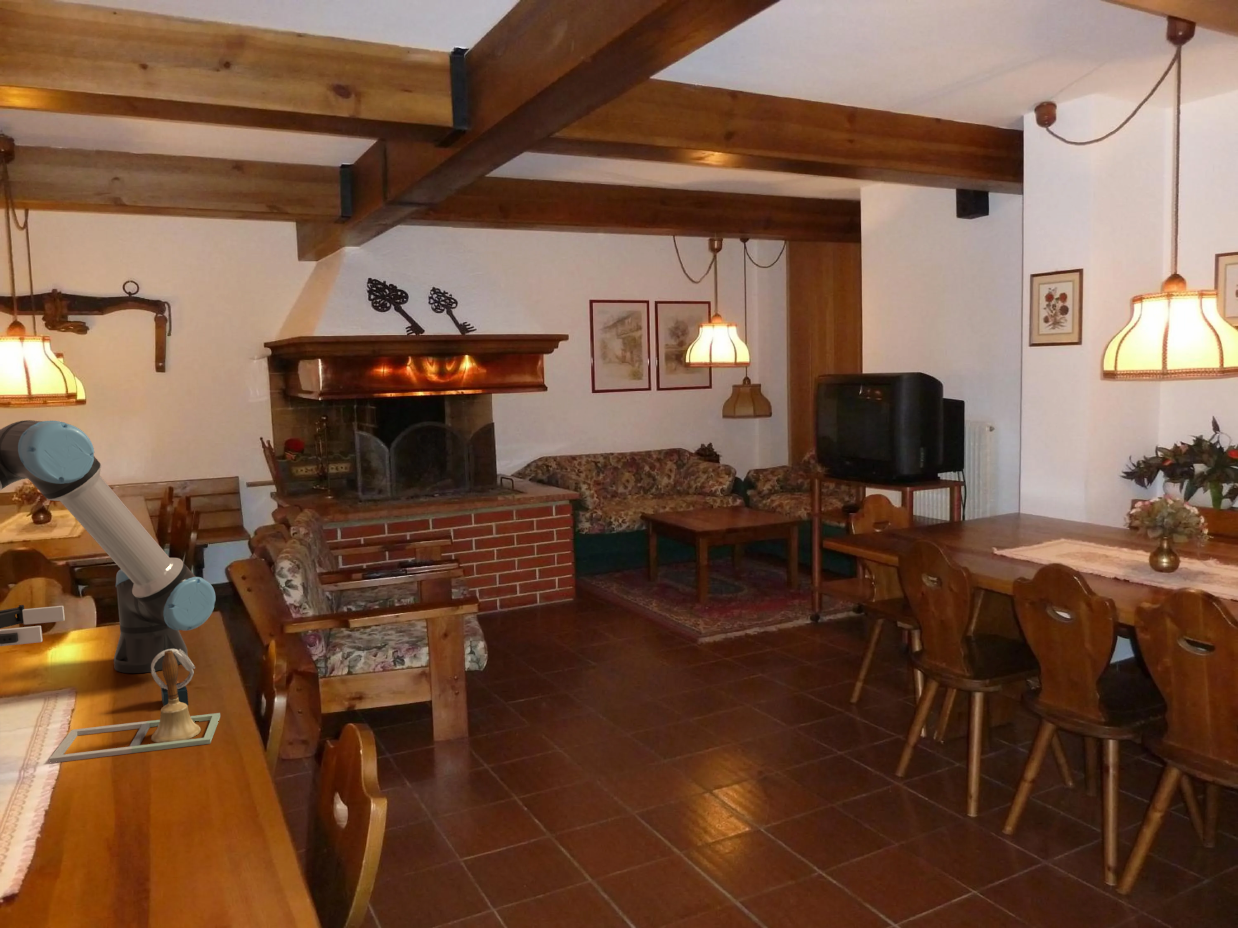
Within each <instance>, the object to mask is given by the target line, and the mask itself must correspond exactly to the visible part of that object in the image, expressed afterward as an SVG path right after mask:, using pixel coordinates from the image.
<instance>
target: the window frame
mask: <svg viewBox="0 0 1238 928" xmlns="http://www.w3.org/2000/svg"><path fill="white" fill-rule="evenodd" d="M190 717H191V719H192V721H193V722H194V723H196V722H195V721H199V722H207V721H209V723H208V726H207V729H206V731H205V734H204V736H203V737H198V738H191V739H188V740H180V741H172V742H164V743H156V742H154V743H150V744H149V743H148V744H142V741H143V740H144V738H145V737H146V735H147V733H148V732H149V729H150V728H153V727H158V726H159V723H160V719H156V720H147V721H138V722H127V723H121V724H120V723H118V724H109V725H102V726H95V727H86V728H85V727H84V728H83V727H82V728H75V729H71V730H70V731H69V733H68V734H67V735H66V736H65V737H64V739H63V740H62V742H61V743H60V744H59V746H58V747H57V748H56V750H55V751H54V752H53V753H52V755H51V756H50V757H49V763H50V762H56V761H57V762H56V763H63V762H71V761H79V760H87V759H94V758H97V759H98V758H104V757H112V756H119V755H127V754H135V753H136V754H137V753H143V752H144V753H145V752H152V751H160V750H162V751H163V750H169V749H176V748H184V747H194V746H202V745H203V746H204V745H211V743H212V739H213V737H214V734H215V733H216V730H217V726H218V724H219V722H220V719H221V712H216V713H215V712H214V713H208V714H207V713H206V714H199V715H198V714H197V715H190ZM218 721H219V722H218ZM135 729H136V730H138V731H137V733H136V735H135V736H134V737H133V739H132V741H131V743H130V744H129V746H125V747H124V746H123V747H117V748H116V747H115V748H107V749H100V750H92V751H91V750H90V751H89V750H88V751H81V752H74V753H66V752H67V750H68V749H69V748H70V746H71V745H72V744H73V742H74V741H75V739H76V738H77V737H78V736H85V735H93V734H101V733H110V732H119V731H128V730H135Z"/></svg>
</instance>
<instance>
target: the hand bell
mask: <svg viewBox="0 0 1238 928" xmlns="http://www.w3.org/2000/svg"><path fill="white" fill-rule="evenodd" d="M161 671H162V675H163V678H164V680H165V683H166V685H167V689H168V701H169V702H168V704H167V705H165V706H163V707H161V709H160V718H159V720H160V723H159V726H157V728H156V730H155V731H154V732H153V733H152V735H151V737H150V739H151V741H152V742H153V743H164V742H172V741H180V740H189V739H194V737H196V735H197V736H198V735H199V734H200V732H201V730H202V729H201V727H200V725H199V724H197V723H196V722H193V721H192V719H191V717H190V716H191V715H190V712H189V707H188V706H189V705H187V704H185V703H182V702H179V698H178V694H177V693H178V692H177V686H176V684H177V683H178V682H177V681H178V676H179V665H178V664H177V661H176V658H175V656H174V654H173V652H172V651H171V650H168V651H165V654H164V659H163V663H162V670H161Z"/></svg>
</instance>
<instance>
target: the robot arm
mask: <svg viewBox="0 0 1238 928" xmlns="http://www.w3.org/2000/svg"><path fill="white" fill-rule="evenodd" d="M94 449H95V448H94V444H93V443H92V441H91V439H90V438H89V436H88V434H87V433H85V432H84V431H83V430H81V429H80V428H78V427H77V426H75V425H72V424H69V423H67V422H64V421H59V420H31V419H30V420H29V419H28V420H20V421H15V422H12V423H10V424H8V425H6V426H4V427H2V428H0V491H1V490H3V489H4V488H6V487H7V486H10V485H12V484H13V483H15V482H18V481H21V480H26V479H27V480H28V481H30V482H31V483H32V485H34V487H35V488H36V489H37V490H38V491H39V492H40V493H41V494H42V496H43V497H45V499H46V500H48V501H55V502H60V503H61V504H62V505H63V506H64V508H66V509H67V511H68V512H69V514H71V515H72V516H73V518H75V519H76V521H77V522H78V523H79V524H80V525H81V526H82V527H83V529H84V530H85V531H86V532H87V533H88V534H89V535H90V536H91V537H92V538H93V539H94V541H95V542H96V543H97V544H98V545H99V547H101V549H102V550H103V551H104V552H105V553H106V554H107V555H108V556H109V558H111V560H112V561H113V562H114V563H115V564H116V565H117V567H118V568H119V570H118V571H117V572H116V576H115V588H116V597H117V598H116V599H117V608H118V609H117V610H118V618H119V629H120V630H119V632H120V634H119V639H118V641H117V646H116V649H115V653H114V658H113V665H114V671H116V672H119V673H123V674H124V673H125V674H143V673H151V663H152V661H153V659H154V658H155V657H156V656H157V655H158V654H159V653H160V652H162V651H164V650H167V649H177V650H180V649H181V650H182V651H183V652H184V653H185V654H186V655H187V656H188V654H189V653H188V647H187V645H186V643H185V641H184V639H183V637H182V634H181V632H180V631H186V632H187V631H191V630H194V629H197V628H199V627H201V626H202V625H204V624H205V622H207V621H208V619H209V618H210V616H211V615H212V614H213V612H214V608H215V604H216V598H217V597H216V592H215V589H214V587H213V586H212V584H211V583H210V582H209V581H208V580H207V579H205V578H203V577H200V576H196V575H195V574H194V573H193V572H192V571H191V570H190V568H189V567H188V566H187V565H186V564H185V563H184V562H183V560H182V559H181V558H180V557H169V555H168V553H166V551H164V549H163V548H162V547H161V546H160V545H159V543H158V542H157V541H156V540H155V539H154V538H153V536H152V535H151V534H150V533H149V532H148V530H146V528H145V527H144V526H143V525H142V523H141V522H140V521H139V519H137V517H136V516H135V515H134V514H133V512H132V511H130V509H129V508H128V507H127V506H126V505H125V504H124V502H123V501H122V500H121V499H120V498H119V496H118V495H117V494H116V493H115V491H113V489H112V488H111V486H110V485H108V483H107V482H106V481H105V480H104V479H103V477H102V476H101V468H102V464H101V463H100V461H99V460H98V459H97V457H96V456H95V455H94V454H95V450H94ZM64 609H65V608H64V605H57V606H45V607H35V608H34V607H33V608H25V605H24V604H20V605H18V607H13V608H7V609H3V610H2V609H1V610H0V647H6V646H15V645H16V646H17V645H25V644H34V643H36V644H37V643H42V642H43V631H42V626H41V625H35V626H24V627H23V626H22V627H13V626H16V625H22V624H23V625H34V624H44V623H45V624H47V623H55V622H64V621H66V620H65V618H66V617H65V610H64ZM8 627H10V628H8ZM11 627H13V628H11ZM173 654H174V653H173ZM174 656H175V658H176V661H177V664H178V666H179V665H182V664H181V663H180V662H179V660H178V659H177V657H176V655H175V654H174ZM188 657H189V656H188ZM163 659H164V656H162V657H161V658H160V659H158V661H157V662H156V663H155V665H154V669H155V672H157V671H162V663H163ZM153 671H154V670H153Z"/></svg>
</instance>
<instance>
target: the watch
mask: <svg viewBox="0 0 1238 928" xmlns="http://www.w3.org/2000/svg"><path fill="white" fill-rule="evenodd" d="M168 650H171V651H172V652H173V653H174V654H175V655H176V657H177V659H178V660H179V662H180V663H181V664H180V665H181V666H182V667H183V668H184V669H185V670H186V671H187V672H189V674H188V675H187V677H186V678H185V679H184V680H183V681H181V682H176V686H177V692H178V693H177V694H178V698H179V702H182V703H185V704H187V706H189V697H188V696H189V695H188V688H187V685H188V684H189V683H190V682H191V681H192V679H193V676H194V674H195V673H194V669H196V666H195V665H194V663H193V661H192V659H190V657H189V656H187V655H186V654H185V653H184V652H183V651H182V650H181V649H180V650H177V649H167V650H164V651H162V652H160V653H159V654H158V655H157V656H156V657H155V658H154V659H153V661H152V663H151V672H150V673H151V676H152V679H153V680H154V682H155V683H156V684H157V685H158V686H159V688H160V692H161V693H160V694H161V703H162V706H163V707H164V706H165V705H167V704H168V702H169V701H168V689H167V684H165V682H164V681H163V680H162V679H161V678H160V677H159V676H158V674H157V671H155V669H154V665H155V663H156V662H157V661H158V659H160V658H161V657H162V656H164V654H165V651H168ZM153 670H154V671H153Z"/></svg>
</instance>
